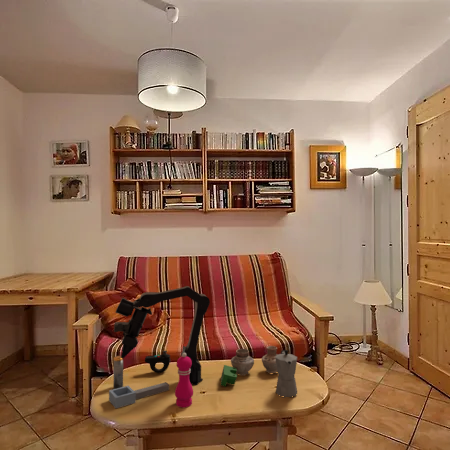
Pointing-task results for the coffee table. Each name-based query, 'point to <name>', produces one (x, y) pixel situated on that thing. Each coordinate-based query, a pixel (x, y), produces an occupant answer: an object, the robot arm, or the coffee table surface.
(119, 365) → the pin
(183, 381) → the pepper mill
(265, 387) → the coffee table surface
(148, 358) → the controller
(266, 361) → the pottery
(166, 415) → the coffee table surface
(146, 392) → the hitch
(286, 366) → the coffeepot
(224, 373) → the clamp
